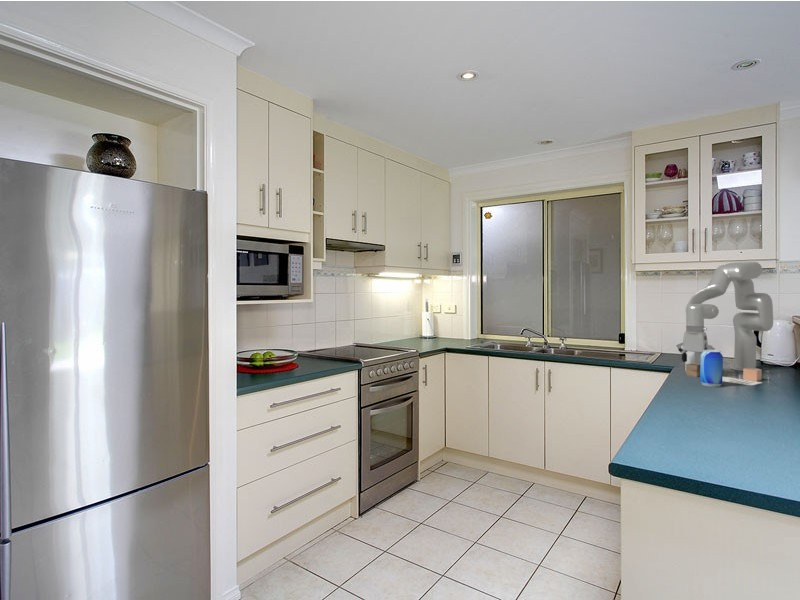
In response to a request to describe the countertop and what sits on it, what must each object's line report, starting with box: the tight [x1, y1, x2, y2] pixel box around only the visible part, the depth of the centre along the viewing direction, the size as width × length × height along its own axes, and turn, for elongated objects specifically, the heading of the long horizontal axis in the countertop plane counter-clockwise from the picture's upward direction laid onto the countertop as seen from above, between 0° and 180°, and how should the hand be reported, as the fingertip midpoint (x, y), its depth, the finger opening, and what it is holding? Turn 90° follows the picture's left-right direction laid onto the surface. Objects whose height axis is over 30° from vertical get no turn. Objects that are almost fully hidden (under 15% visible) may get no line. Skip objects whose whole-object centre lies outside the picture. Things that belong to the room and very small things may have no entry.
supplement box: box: [684, 344, 713, 372], centre depth 240 cm, size 9×9×15 cm
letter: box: [722, 376, 763, 386], centre depth 218 cm, size 13×17×1 cm
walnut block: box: [685, 364, 700, 378], centre depth 230 cm, size 5×5×6 cm
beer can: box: [699, 349, 724, 388], centre depth 208 cm, size 8×8×16 cm
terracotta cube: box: [742, 368, 763, 382], centre depth 220 cm, size 6×6×6 cm
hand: (694, 362), depth 230 cm, fingers open, 9 cm apart
